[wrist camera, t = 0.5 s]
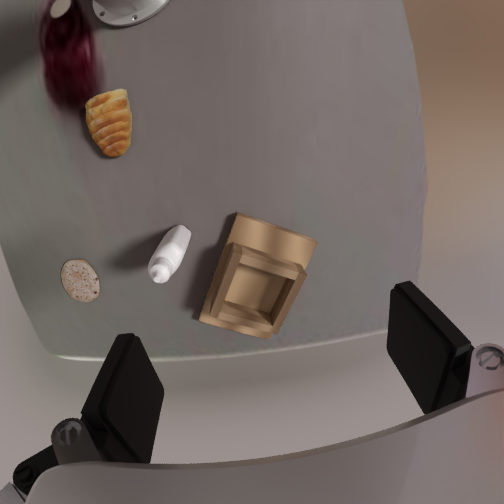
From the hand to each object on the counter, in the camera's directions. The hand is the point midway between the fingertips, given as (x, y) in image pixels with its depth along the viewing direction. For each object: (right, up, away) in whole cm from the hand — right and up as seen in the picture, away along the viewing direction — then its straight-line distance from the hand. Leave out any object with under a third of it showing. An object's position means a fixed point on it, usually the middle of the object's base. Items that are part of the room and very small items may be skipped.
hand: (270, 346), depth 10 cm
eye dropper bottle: (-12, +5, +33) cm, 35 cm away
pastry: (-20, +22, +26) cm, 39 cm away
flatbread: (-29, -1, +35) cm, 45 cm away
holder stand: (0, -1, +36) cm, 36 cm away
